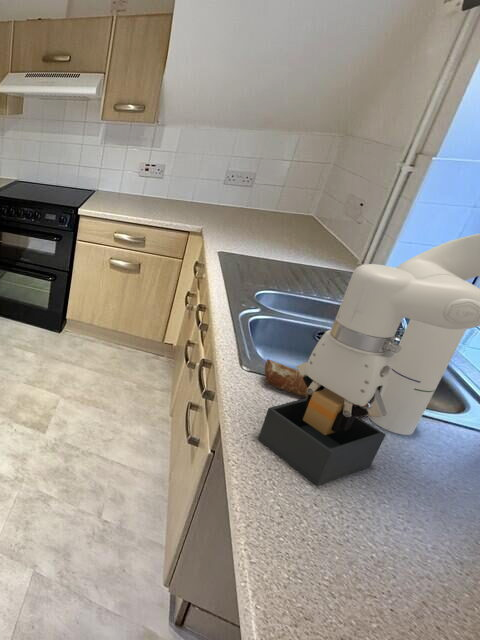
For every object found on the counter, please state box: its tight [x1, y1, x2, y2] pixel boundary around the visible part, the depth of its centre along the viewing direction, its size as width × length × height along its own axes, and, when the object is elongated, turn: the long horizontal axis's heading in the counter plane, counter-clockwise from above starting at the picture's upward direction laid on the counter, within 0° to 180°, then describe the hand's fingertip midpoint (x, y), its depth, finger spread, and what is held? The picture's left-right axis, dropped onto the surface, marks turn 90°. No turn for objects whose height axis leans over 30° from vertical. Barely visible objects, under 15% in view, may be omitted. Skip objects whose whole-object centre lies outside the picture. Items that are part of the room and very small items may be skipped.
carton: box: [303, 389, 344, 435], centre depth 76 cm, size 5×4×6 cm
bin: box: [257, 397, 386, 486], centre depth 78 cm, size 14×11×8 cm
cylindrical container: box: [367, 319, 467, 436], centre depth 83 cm, size 7×7×25 cm
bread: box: [264, 358, 370, 407], centre depth 94 cm, size 6×19×6 cm, turn 50°
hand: (324, 419), depth 77 cm, fingers closed on carton, 4 cm apart
